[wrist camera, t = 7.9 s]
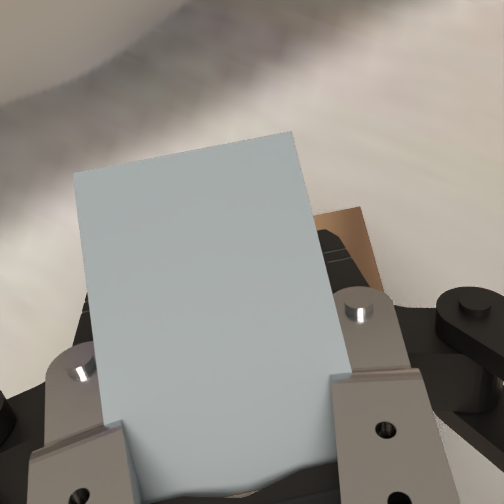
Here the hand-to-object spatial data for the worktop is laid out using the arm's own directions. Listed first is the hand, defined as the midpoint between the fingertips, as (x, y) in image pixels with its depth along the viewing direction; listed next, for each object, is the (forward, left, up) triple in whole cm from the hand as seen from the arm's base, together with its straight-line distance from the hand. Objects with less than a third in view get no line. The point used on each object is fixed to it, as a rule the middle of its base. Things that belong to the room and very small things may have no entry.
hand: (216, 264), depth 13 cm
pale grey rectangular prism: (0, +2, -5) cm, 5 cm away
